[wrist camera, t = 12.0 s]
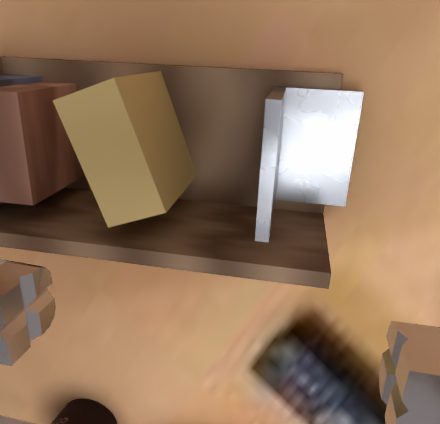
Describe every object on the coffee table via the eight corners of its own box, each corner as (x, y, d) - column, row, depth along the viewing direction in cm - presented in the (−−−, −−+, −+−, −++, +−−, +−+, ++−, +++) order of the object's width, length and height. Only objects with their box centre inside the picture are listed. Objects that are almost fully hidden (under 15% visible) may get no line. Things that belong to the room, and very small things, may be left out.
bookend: (265, 196, 31) (254, 241, 24) (275, 86, 28) (265, 99, 21) (344, 203, 30) (358, 252, 23) (362, 91, 27) (385, 106, 20)
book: (151, 187, 33) (108, 227, 25) (112, 88, 30) (52, 100, 23) (197, 175, 32) (166, 212, 24) (160, 70, 29) (113, 77, 22)
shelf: (20, 189, 36) (-75, 236, 27) (0, 56, 32) (-121, 59, 23) (320, 220, 32) (328, 288, 23) (341, 73, 28) (361, 84, 19)
